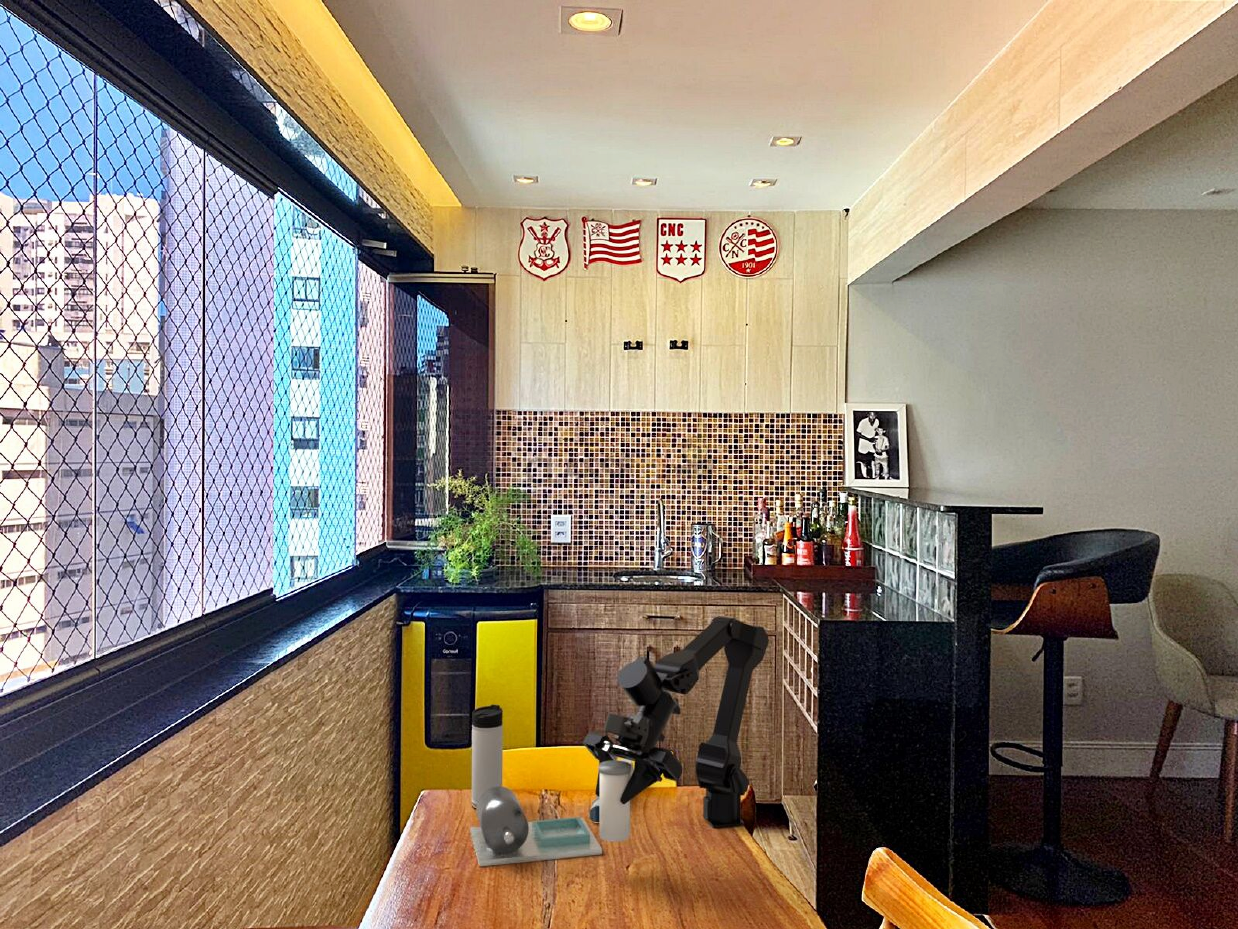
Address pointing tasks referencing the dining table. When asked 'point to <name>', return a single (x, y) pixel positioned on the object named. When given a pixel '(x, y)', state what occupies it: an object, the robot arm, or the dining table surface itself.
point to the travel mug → (486, 750)
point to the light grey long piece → (595, 804)
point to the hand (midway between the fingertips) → (609, 799)
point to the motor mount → (525, 833)
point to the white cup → (614, 801)
